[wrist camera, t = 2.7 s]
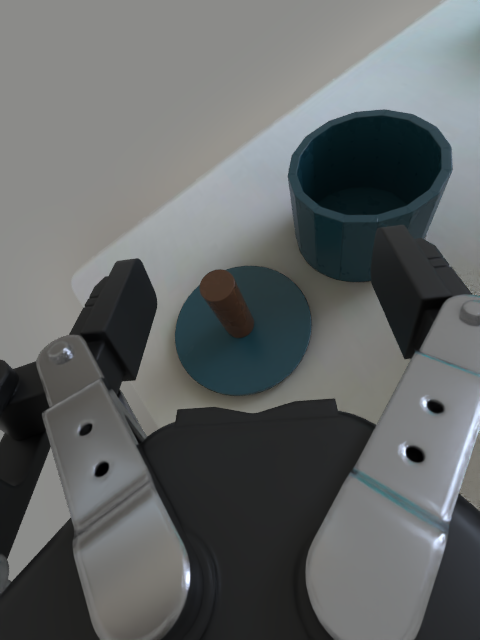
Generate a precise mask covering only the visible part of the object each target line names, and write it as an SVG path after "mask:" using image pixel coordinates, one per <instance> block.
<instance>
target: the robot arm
mask: <svg viewBox="0 0 480 640" xmlns="http://www.w3.org/2000/svg"><path fill="white" fill-rule="evenodd" d="M371 282H372V285H373V288H374V290H375V292H376V295H377V297H378V299H379V302H380V304H381V306H382V309H383V311H384V313H385V315H386V318H387V320H388V322H389V325H390V327H391V329H392V332H393V334H394V336H395V338H396V341H397V343H398V345H399V348H400V350H401V352H402V354H403V357H404V359H411V358H412V359H411V361H410V362H409V364H408V366H407V368H406V370H405V372H404V374H403V376H402V378H401V380H400V381H399V383H398V385H397V387H396V389H395V391H394V393H393V395H392V397H391V399H390V400H389V402H388V404H387V406H386V408H385V410H384V412H383V414H382V416H381V418H380V420H379V421H378V423H377V425H375V424H374V423H372V422H370V421H368V420H366V419H364V418H361V417H359V416H356V415H354V414H350V413H347V412H342V411H338V410H337V405H336V401H335V399H322V400H307V401H294V402H291V403H288V404H285V405H281V406H278V407H275V408H272V409H268V410H265V411H262V412H259V413H246V412H240V411H234V410H229V409H223V408H217V407H207V408H193V409H179V410H177V415H176V421H175V422H173V423H171V424H168V425H166V426H164V427H162V428H160V429H158V430H157V431H155V432H153V433H152V434H151V435H149V436H148V437H147V436H146V434H145V432H144V431H143V429H142V427H141V426H140V424H139V422H138V420H137V418H136V416H135V415H134V413H133V411H132V409H131V408H130V406H129V404H128V402H127V400H126V398H125V397H124V395H123V393H122V392H121V390H120V386H121V382H122V381H132V380H136V377H137V373H138V370H139V367H140V363H141V360H142V357H143V353H144V350H145V347H146V343H147V340H148V336H149V333H150V330H151V326H152V323H153V320H154V316H155V313H156V309H157V297H156V293H155V291H154V288H153V286H152V284H151V282H150V279H149V277H148V275H147V272H146V270H145V268H144V265H143V263H142V262H141V260H140V259H130V260H122V261H117V262H116V263H115V265H114V267H113V268H112V270H111V272H110V274H109V276H107V277H104V278H103V279H102V280H101V281H100V282H99V283H98V284H97V285H96V286H95V287H94V289H93V291H92V293H91V295H90V299H88V300H87V302H86V304H85V307H84V308H83V310H82V311H81V313H80V315H79V317H78V319H77V321H76V323H75V325H74V326H73V328H72V330H71V332H70V334H69V335H67V336H63V337H61V338H58V339H57V340H54V341H53V342H51V343H50V344H48V345H47V346H46V347H45V348H44V349H43V350H42V351H41V352H40V354H39V356H38V358H37V360H36V362H33V363H30V364H27V365H24V366H21V367H18V368H15V369H12V368H11V367H10V366H9V365H8V364H7V363H6V362H5V361H3V360H0V430H2V431H3V432H4V433H5V434H4V436H3V438H2V440H1V442H0V640H480V511H479V510H478V509H476V508H475V507H474V506H473V505H472V504H471V503H469V502H468V501H467V500H466V499H465V498H464V497H462V496H461V495H460V494H459V491H460V488H461V485H462V482H463V479H464V475H465V472H466V469H467V466H468V463H469V460H470V457H471V454H472V451H473V448H474V444H475V441H476V438H477V435H478V432H479V429H480V296H478V295H472V294H471V292H470V291H469V290H468V288H467V287H466V286H465V284H464V283H463V282H462V280H461V279H460V278H459V277H458V275H457V274H456V273H455V271H454V270H453V269H452V267H449V263H448V262H447V261H446V259H445V258H443V256H442V254H441V253H440V252H439V250H438V249H437V248H436V246H434V245H433V244H431V243H429V242H428V241H426V240H424V239H422V238H417V239H414V238H413V237H412V235H411V234H410V232H409V231H408V230H407V228H406V227H405V225H395V226H387V227H380V228H378V229H377V230H376V234H375V240H374V247H373V255H372V262H371ZM50 447H51V449H52V452H53V456H54V460H55V463H56V467H57V470H58V473H59V477H60V480H61V484H62V487H63V491H64V494H65V498H66V501H67V505H68V508H69V511H70V515H71V518H70V519H69V520H68V521H67V522H66V524H65V525H64V526H63V527H62V528H61V529H60V530H59V531H58V532H57V533H56V534H55V535H54V537H53V538H52V539H51V540H50V541H49V542H48V543H47V544H46V545H45V546H44V548H42V550H41V551H40V552H39V553H38V554H37V555H36V556H35V557H34V558H33V559H32V560H31V562H30V563H29V564H28V565H27V566H26V567H25V568H24V569H23V570H22V571H21V572H20V573H19V575H18V576H17V577H16V578H15V579H14V580H13V581H12V582H11V581H10V580H8V576H9V564H8V561H7V558H8V556H9V553H10V550H11V548H12V545H13V543H14V540H15V538H16V535H17V532H18V530H19V527H20V524H21V522H22V520H23V517H24V514H25V511H26V509H27V507H28V504H29V501H30V499H31V496H32V494H33V491H34V488H35V486H36V483H37V481H38V478H39V476H40V473H41V470H42V468H43V465H44V463H45V460H46V458H47V455H48V452H49V450H50Z"/></svg>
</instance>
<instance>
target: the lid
mask: <svg viewBox="0 0 480 640" xmlns="http://www.w3.org/2000/svg"><path fill="white" fill-rule="evenodd" d="M311 326H312V324H311V314H310V310H309V306H308V303H307V301H306V298H305V297H304V295H303V293H302V292H301V290H300V289H299V288H298V287H297V285H296V284H295V283H293V282H292V281H291V280H290V279H289V278H287V277H286V276H285V275H283V274H281V273H279V272H277V271H275V270H272V269H269V268H265V267H259V266H241V267H235V268H230V269H227V270H214V271H211V272H209V273H208V274H207V275H205V276H204V278H203V279H202V281H201V283H200V285H199V286H198V287H197V288H196V289H195V290H194V291H193V292H192V293H191V295H190V296H189V297H188V299H187V300H186V302H185V303H184V305H183V307H182V309H181V311H180V314H179V316H178V320H177V324H176V330H175V343H176V349H177V353H178V356H179V359H180V361H181V363H182V365H183V367H184V368H185V370H186V371H187V373H188V374H189V375H190V376H191V377H192V378H193V379H194V380H196V381H197V382H198V383H199V384H201V385H202V386H204V387H206V388H207V389H209V390H212V391H214V392H217V393H221V394H225V395H233V396H243V395H250V394H256V393H259V392H262V391H265V390H267V389H269V388H271V387H273V386H275V385H277V384H278V383H280V382H281V381H283V380H284V379H285V378H286V377H287V376H289V375H290V374H291V373H292V372H293V370H294V369H295V368H296V367H297V366H298V364H299V363H300V361H301V360H302V358H303V356H304V354H305V352H306V350H307V347H308V345H309V341H310V336H311Z"/></svg>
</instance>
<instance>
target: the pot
mask: <svg viewBox="0 0 480 640" xmlns="http://www.w3.org/2000/svg"><path fill="white" fill-rule="evenodd" d="M452 170H453V168H452V148H451V145H450V144H449V143H448V141H447V140H446V139H445V137H444V136H443V135H442V133H441V132H440V131H439V129H438V128H437V127H436V126H434V125H432V124H430V123H429V122H427V121H425V120H423V119H421V118H419V117H417V116H415V115H413V114H408V113H402V112H396V111H391V110H373V111H362V112H354V113H351V114H348V115H345V116H343V117H340V118H337V119H334V120H331V121H328V122H327V123H325V124H324V125H322V126H321V127H319V128H318V129H316V130H315V131H314V132H312V133H311V134H309V135H308V136H307V137H305V138H304V140H303V141H302V143H301V144H300V145H299V147H298V148H297V149H296V151H295V152H294V153H293V155H292V157H291V162H290V168H289V173H288V181H289V189H290V196H291V204H292V211H293V219H294V227H295V234H296V239H297V242H298V246H299V249H300V251H301V254H302V255H303V257H304V258H305V260H306V261H307V262H308V263H309V264H310V265H311V266H312V267H313V268H314V269H316V270H317V271H319V272H320V273H322V274H324V275H326V276H328V277H331V278H334V279H338V280H342V281H349V282H365V281H371V262H372V255H373V247H374V240H375V234H376V230H377V229H378V228H380V227H387V226H395V225H405V227H406V228H407V230H408V231H409V232H410V234H411V235H412V237H413V238H414V239H417V238H422V239H424V238H425V236H426V233H427V231H428V228H429V226H430V224H431V221H432V219H433V216H434V214H435V212H436V209H437V207H438V204H439V202H440V199H441V197H442V195H443V192H444V190H445V187H446V185H447V183H448V180H449V178H450V175H451V173H452Z"/></svg>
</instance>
